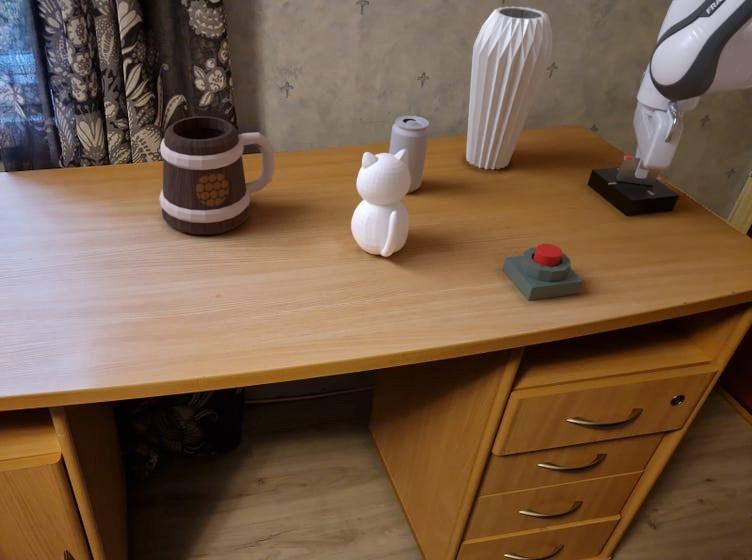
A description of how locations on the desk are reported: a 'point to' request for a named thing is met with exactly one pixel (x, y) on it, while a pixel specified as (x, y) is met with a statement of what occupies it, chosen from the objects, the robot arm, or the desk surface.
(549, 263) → the button
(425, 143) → the beverage can
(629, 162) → the tap handle
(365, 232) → the cat figurine
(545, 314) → the desk surface
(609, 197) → the block
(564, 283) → the button block
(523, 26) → the vase
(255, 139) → the mug
